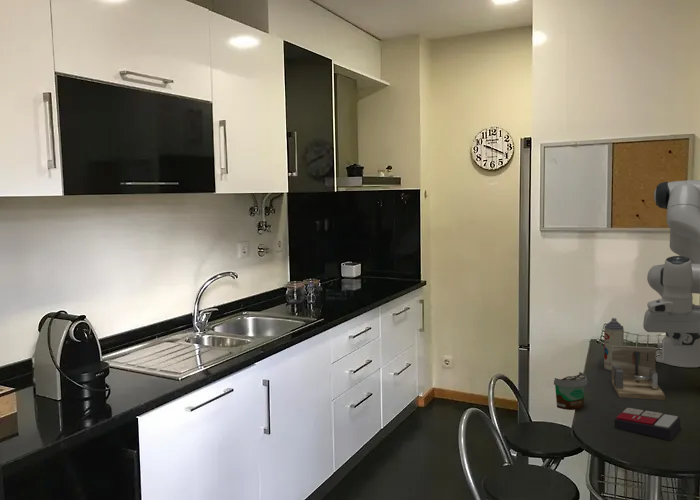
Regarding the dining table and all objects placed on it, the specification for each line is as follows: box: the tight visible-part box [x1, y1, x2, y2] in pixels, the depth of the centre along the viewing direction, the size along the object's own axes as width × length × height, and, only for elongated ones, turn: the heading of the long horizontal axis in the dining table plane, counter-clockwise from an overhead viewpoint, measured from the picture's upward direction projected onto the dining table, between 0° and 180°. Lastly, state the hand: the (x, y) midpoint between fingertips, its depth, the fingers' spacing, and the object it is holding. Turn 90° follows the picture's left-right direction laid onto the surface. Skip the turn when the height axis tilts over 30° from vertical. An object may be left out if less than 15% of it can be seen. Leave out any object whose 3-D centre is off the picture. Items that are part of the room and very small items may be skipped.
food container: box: [553, 371, 588, 411], centre depth 191 cm, size 12×6×10 cm, turn 117°
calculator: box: [614, 407, 682, 442], centre depth 173 cm, size 11×4×15 cm
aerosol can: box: [603, 317, 625, 373], centre depth 228 cm, size 7×7×20 cm
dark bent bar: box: [634, 352, 640, 381], centre depth 208 cm, size 3×2×10 cm, turn 164°
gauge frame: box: [611, 345, 666, 401], centre depth 204 cm, size 16×14×14 cm
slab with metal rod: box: [634, 369, 658, 389], centre depth 205 cm, size 8×7×5 cm
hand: (676, 345), depth 200 cm, fingers closed
